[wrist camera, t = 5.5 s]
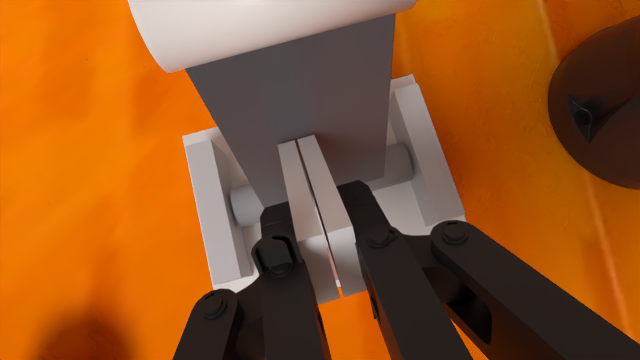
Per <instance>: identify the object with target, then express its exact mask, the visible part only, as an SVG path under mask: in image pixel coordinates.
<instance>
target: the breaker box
mask: <svg viewBox="0 0 640 360" xmlns="http://www.w3.org/2000/svg"><path fill="white" fill-rule="evenodd" d="M183 141H184V146H185V151H186V156H187V161H188V166H189V171H190V176H191V181H192V186H193V191H194V196H195V201H196V206H197V211H198V216H199V221H200V226H201V231H202V236H203V240H204V245H205V250H206V255H207V260H208V265H209V270H210V275H211V280H212V285H213V290H217V289H220V288H224V289H230V290H232V291H234V292H235V293H237V292H239V291H240V290H242V289H244V288H246V287H247V286H249V285H250V284H251V283H253V282H254V281H255V280H256V279H257V278H258V276H259V273H258V270H257V268H256V266H255V263H254V261H253V259H252V256H251V251H252V248H253V246H254V245H255V243H256V242H257V241H258V240H260V239H261V226H260V223H256V224H253V225H249V226H246V227H240V225H239V224H238V222H237V220H236V217H235V214H234V211H233V207H232V203H231V197H230V190H231V188H235V187H238V186H242V185H246V184H249V181H248V179H247V177H246V176H245V174H244V172H243V170H242V169H241V167H240V165H239V163H238V161H237V160H236V158H235V156H234V154H233V153H232V151H231V149H230V147H229V146H228V144H227V142H226V140H225V139H224V137H223V135H222V133H221V131H220V130H219V128H218V127H215V128H211V129H207V130H204V131H200V132H196V133H193V134H189V135H185V136H183ZM399 142H402V143H403V144H404V146H405V147H406V149H407V152H408V154H409V157H410V160H411V164H412V170H413V178H412V180H411V181H408V182H404V183H400V184H397V185H393V186H390V187H386V188H382V189H379V190H375V191H372V193H373V195H374V196H375V198H376V200H377V202H378V204H379V205H380V207H381V209H382V211H383V212H384V214H385V216H386V218H387V219H388V221H389V223H390V225H391V226H393V227H395V228H397V229H398V230H399V231H400V232H401V233H403V234H406V235H417V236H418V235H430V232H431V230H432V229H433V227H434V226H436V225H437V224H438V223H440V222H444V221H447V220H460V221H465V222H466V219H465V216H464V214H466V213H465V211H464V208H463V205H462V202H461V200H460V197H459V194H458V192H457V189H456V186H455V183H454V181H453V178H452V175H451V172H450V170H449V167H448V164H447V161H446V159H445V156H444V153H443V150H442V148H441V145H440V142H439V140H438V137H437V134H436V131H435V129H434V126H433V123H432V120H431V118H430V115H429V112H428V109H427V107H426V104H425V101H424V99H423V96H422V93H421V90H420V88H419V85H418V83H416V82H415V79H414V76H413V74H411V75H407V76H404V77H400V78H396V79H393V80H391V83H390V97H389V112H388V126H387V140H386V146H388V145H391V144H395V143H399ZM315 210H316V214H317V217H318V221H319V224H320V227H321V231H322V234H323V237H324V241H325V245H326V248H327V252H328V255H329V259H330V263H331V266H332V270H333V273H334V277H335V281H336V284H337V287H339V286H341V285H340V282H339V279H338V275H337V272H336V269H335V266H334V262H333V259H332V256H331V253H330V249H329V246H328V243H327V240H326V236H325V233H324V230H323V227H322V223H321V220H320V217H319V214H318V210H317V207H315Z"/></svg>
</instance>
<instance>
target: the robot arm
mask: <svg viewBox="0 0 640 360" xmlns="http://www.w3.org/2000/svg"><path fill="white" fill-rule="evenodd" d="M548 107H549V114H550V118H551V122H552V125H553V128H554V130H555V132H556V134H557V136H558V138H559V140H560V142H561V143H562V145H563V146H564V148H565V149H566V150H567V151H568V153H569V154H570V155H571V156H572V157H573V158H574V159H575V160H576V161H577V162H578V163H579V164H580V165H581V166H583V167H584V168H585V169H587V170H588V171H589V172H591V173H592V174H594V175H596V176H597V177H599V178H601V179H603V180H605V181H608V182H610V183H613V184H615V185H618V186H622V187H626V188H631V189H638V190H640V15H638V16H635V17H633V18H631V19H628V20H626V21H624V22H621V23H619V24H617V25H614V26H611V27H608V28H606V29H603V30H601V31H599V32H597V33H595V34H594V35H592V36H591V37H589V38H587V39H586V40H585V41H583V42H582V43H581V44H580V45H579V46H578V47H577V48H575V49H574V50H573V51H572V52H571V53H570V54H569V55H568V56H566V58H565V59H564V60H563V61H562V62H561V63H560V65H559V66H558V68H557V69H556V71H555V73H554V75H553V78H552V80H551V84H550V88H549V94H548ZM297 140H298V144H299V148H300V151H301V155H302V159H303V162H304V166H305V169H306V173H307V177H308V180H309V184H310V187H311V191H312V194H313V197H314V201H315V204H316V207H317V210H318V214H319V217H320V220H321V223H322V227H323V230H324V233H325V236H326V240H327V243H328V246H329V249H330V253H331V256H332V259H333V262H334V266H335V269H336V272H337V275H338V279H339V282H340V285H341V288H342V292H343V295H344V297H345V296H349V295H352V294H355V293H359V292H362V291H365V290H366V287H367V290H368V292H369V297H370V301H371V306H372V310H373V315H374V319H377V321H378V324H379V327H380V330H381V332H382V335H383V338H384V340H385V343H386V346H387V349H388V351H389V354H390V357H391V360H473V358H472V356H471V355H470V353H469V351H468V349H467V348H466V346H465V344H464V342H463V340H462V339H461V337H460V335H459V333H458V332H457V330H456V328H455V326H454V325H453V323H452V321H453V322H454V323H455V324H456V325H457V326H458V327H459V328H460V329H461V330H462V331H463V332H464V333H465V334H466V335H467V337H468V338H469V339H470V340H471V341H472V342H473V343H474V344H475V345H476V346H477V347H478V348H479V349H480V350H481V351H482V353H483V354H484V355H485V356H486V357H487V358H488V359H489V360H640V344H638V343H637V342H636V341H634V340H633V339H631V338H630V337H629V336H627V335H626V334H624V333H623V332H622V331H620V330H619V329H617V328H616V327H615V326H613V325H612V324H610V323H609V322H608V321H606V320H605V319H603V318H602V317H601V316H599V315H598V314H596V313H595V312H594V311H592V310H591V309H589V308H588V307H587V306H585V305H584V304H582V303H581V302H580V301H578V300H577V299H575V298H574V297H573V296H571V295H570V294H568V293H567V292H566V291H564V290H563V289H561V288H560V287H559V286H557V285H556V284H554V283H553V282H552V281H550V280H549V279H547V278H546V277H545V276H543V275H542V274H540V273H539V272H538V271H536V270H535V269H533V268H532V267H531V266H529V265H528V264H526V263H525V262H524V261H522V260H521V259H519V258H518V257H517V256H515V255H514V254H512V253H511V252H510V251H508V250H507V249H505V248H504V247H503V246H501V245H500V244H498V243H497V242H496V241H494V240H493V239H491V238H490V237H489V236H487V235H486V234H484V233H483V232H482V231H480V230H479V229H477V228H476V227H475V226H473V225H471V224H469V223H467V222H465V221H460V220H447V221H444V222H440V223H438V224H437V225H436V226H434V227H433V229H432V230H431V232H430V235H418V236H417V235H406V234H403V233H401V232H400V231H399V230H398V229H397V228H395V227H393V226H391V225H390V223H389V221H388V219H387V218H386V216H385V214H384V212H383V211H382V209H381V207H380V205H379V204H378V202H377V200H376V198H375V196H374V195H373V193H372V191H371V189H370V188H369V186H368V185H367V184H365V183H363V182H362V181H360V180H356V181H353V182H349V183H346V184H342V185H339V186H336V185H335V183H334V181H333V178H332V176H331V174H330V171H329V169H328V166H327V164H326V162H325V159H324V157H323V155H322V152H321V150H320V148H319V145H318V143H317V140H316V138H315V136H314V135H311V136H308V137H304V138H301V139H297ZM278 150H279V155H280V160H281V165H282V170H283V175H284V180H285V185H286V190H287V195H288V200H289V201H286V202H283V203H279V204H276V205H272V206H269V207H265V208H264V210H263V212H262V214H261V216H260V226H261V239H260V240H258V241H257V242H256V243H255V245H254V246H253V248H252V251H251V256H252V259H253V261H254V263H255V266H256V268H257V270H258V273H259V276H258V278H257V279H256V280H255V281H254V282H253V283H251V284H250V285H249V286H247V287H246V288H244V289H242V290H240V291H239V292H237V293H235V292H234V291H232V290H230V289H224V288H220V289H217V290H213V291H211V292H209V293H207V294H205V295H204V296H203V297H202V298H201V299H199V300H198V301H197V303H196V304H195V306H194V308H193V309H192V311H191V314H190V316H189V319H188V322H187V324H186V327H185V329H184V332H183V334H182V337H181V339H180V342H179V344H178V347H177V349H176V352H175V354H174V357H173V359H172V360H265V359H266V360H332V359H331V355H330V350H329V346H328V342H327V338H326V334H325V330H324V325H323V321H322V317H321V314H320V311H319V308H318V304H322V303H325V302H328V301H332V300H335V299H338V298H340V295H339V291H338V288H337V284H336V281H335V277H334V273H333V270H332V266H331V263H330V259H329V255H328V252H327V248H326V245H325V241H324V237H323V234H322V231H321V227H320V224H319V221H318V217H317V214H316V210H315V207H314V204H313V200H312V197H311V194H310V190H309V187H308V184H307V180H306V177H305V174H304V170H303V167H302V164H301V160H300V157H299V154H298V150H297V147H296V143H295V140H293V141H290V142H286V143H283V144H279V145H278ZM449 317H450V318H451V319H452V321H451V319H450V318H449Z"/></svg>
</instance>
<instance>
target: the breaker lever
mask: <svg viewBox="0 0 640 360" xmlns="http://www.w3.org/2000/svg"><path fill="white" fill-rule="evenodd" d="M416 1H417V0H128V2H129V6H130V9H131V12H132V15H133V17H134V20H135V22H136V25H137V27H138V29H139V32H140V34H141V36H142V38H143V40H144V42H145V44H146V46H147V48H148V49H149V51H150V53H151V54H152V56H153V58H154V59H155V61H156V62H157V63H158V64H159V66H160V67H161V68H162V69H163V70H164V71H166V72H168V73H171V72H175V71H179V70H183V69H185V70H186V72H187V73H188V75H189V77H190V79H191V80H192V82H193V84H194V86H195V87H196V89H197V91H198V93H199V94H200V96H201V98H202V100H203V102H204V103H205V105H206V107H207V109H208V110H209V112H210V114H211V116H212V117H213V119H214V121H215V123H216V124H217V126H218V128H219V130H220V131H221V133H222V135H223V137H224V139H225V140H226V142H227V144H228V146H229V147H230V149H231V151H232V153H233V154H234V156H235V158H236V160H237V161H238V163H239V165H240V167H241V169H242V170H243V172H244V174H245V176H246V177H247V179H248V181H249V184H246V185H242V186H238V187H235V188H231V190H230V197H231V203H232V207H233V211H234V214H235V217H236V220H237V222H238V224H239V225H240V227H246V226H249V225H253V224H256V223H260V216H261V214H262V212H263V210H264V208H265V207H269V206H272V205H276V204H279V203H283V202H286V201H289V200H288V195H287V190H286V185H285V180H284V175H283V170H282V165H281V160H280V155H279V150H278V145H279V144H283V143H286V142H290V141H293V140H295V143H296V147H297V150H298V154H299V157H300V160H301V164H302V167H303V170H304V174H305V177H306V180H307V184H308V187H309V190H310V194H311V197H312V200H313V204H314V207H316V204H315V201H314V197H313V194H312V191H311V187H310V184H309V180H308V177H307V173H306V169H305V166H304V162H303V159H302V155H301V151H300V148H299V144H298V140H297V139H301V138H304V137H308V136H311V135H314V136H315V138H316V140H317V143H318V145H319V148H320V150H321V152H322V155H323V157H324V159H325V162H326V164H327V166H328V169H329V171H330V174H331V176H332V178H333V181H334V183H335V185H336V186H339V185H342V184H346V183H349V182H353V181H356V180H360V181H362V182H363V183H365V184H367V185H368V186H369V188H370V189H371V191H375V190H379V189H382V188H386V187H390V186H393V185H397V184H400V183H404V182H408V181H411V180H412V178H413V170H412V164H411V160H410V157H409V154H408V152H407V149H406V147H405V146H404V144H403V143H402V142H399V143H395V144H391V145H388V146H386V140H387V126H388V112H389V97H390V83H391V69H392V55H393V41H394V27H395V13H397V12H401V11H405V10H409V9H411V8H412V7H413V6H414V5H415V3H416Z"/></svg>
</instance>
